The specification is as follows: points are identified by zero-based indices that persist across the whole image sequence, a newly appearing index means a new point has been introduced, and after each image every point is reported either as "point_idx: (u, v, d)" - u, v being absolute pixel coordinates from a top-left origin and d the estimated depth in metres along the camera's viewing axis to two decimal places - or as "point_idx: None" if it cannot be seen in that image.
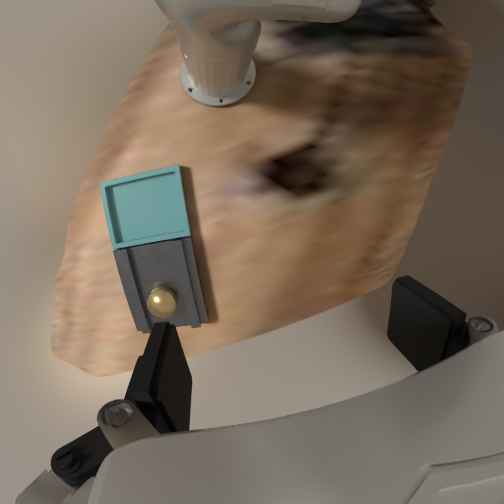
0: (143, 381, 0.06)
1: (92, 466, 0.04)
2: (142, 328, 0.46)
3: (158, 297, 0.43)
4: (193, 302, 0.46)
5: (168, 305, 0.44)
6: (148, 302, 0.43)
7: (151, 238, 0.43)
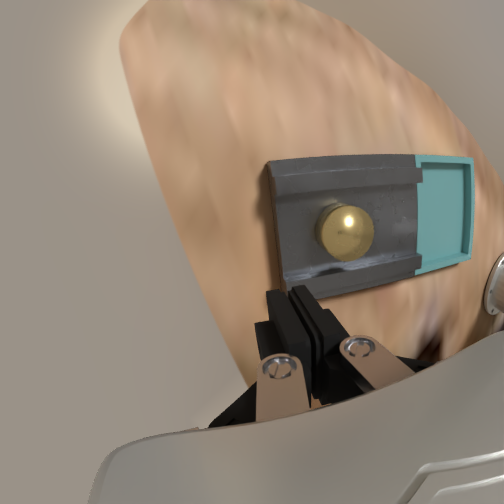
0: (294, 334, 0.08)
1: None
2: (287, 178, 0.23)
3: (364, 231, 0.23)
4: (336, 286, 0.26)
5: (348, 249, 0.24)
6: (357, 210, 0.23)
7: (421, 220, 0.27)
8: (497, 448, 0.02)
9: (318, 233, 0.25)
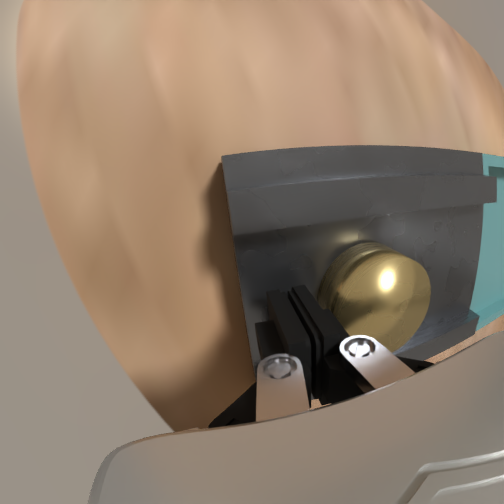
0: (293, 334, 0.08)
1: None
2: (259, 196, 0.10)
3: (414, 304, 0.11)
4: None
5: (381, 339, 0.11)
6: (407, 266, 0.10)
7: (482, 260, 0.14)
8: (497, 448, 0.02)
9: (324, 307, 0.12)
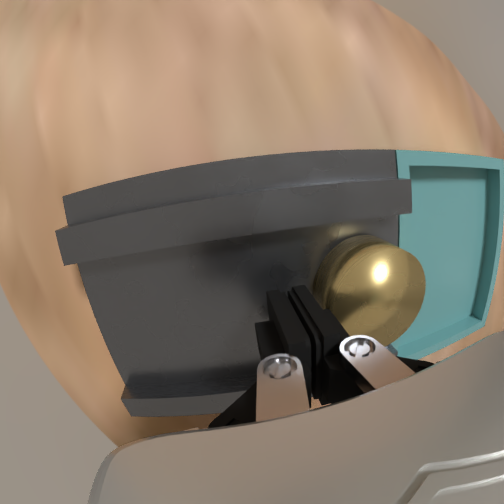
0: (294, 334, 0.08)
1: None
2: (75, 232, 0.10)
3: (409, 294, 0.11)
4: (212, 411, 0.13)
5: (377, 330, 0.11)
6: (399, 256, 0.10)
7: None
8: (497, 448, 0.02)
9: (319, 301, 0.12)
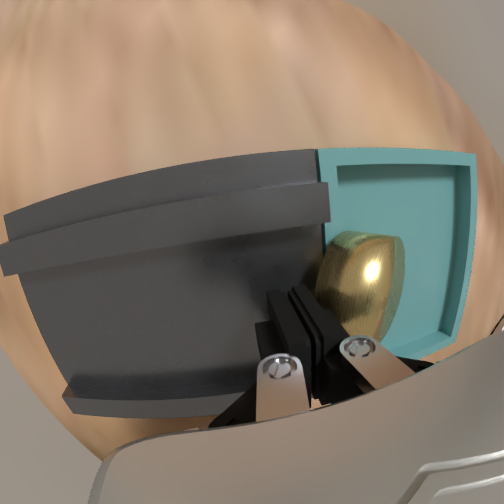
0: (294, 334, 0.08)
1: None
2: (9, 248, 0.09)
3: (399, 276, 0.12)
4: (138, 416, 0.13)
5: (386, 318, 0.11)
6: (396, 243, 0.11)
7: None
8: (497, 448, 0.02)
9: (332, 312, 0.11)
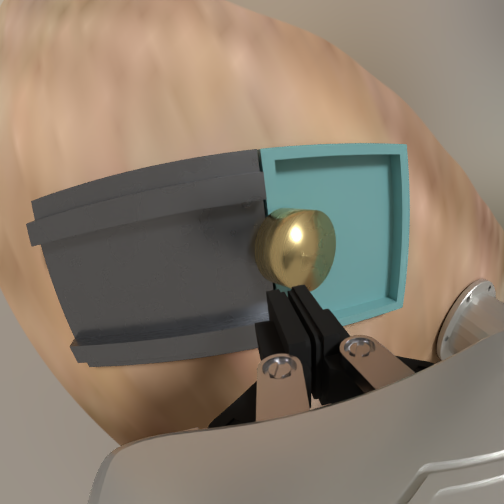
0: (294, 334, 0.08)
1: None
2: (38, 224, 0.14)
3: (326, 242, 0.17)
4: (131, 357, 0.17)
5: (313, 272, 0.17)
6: (316, 215, 0.16)
7: None
8: (497, 448, 0.02)
9: (265, 263, 0.16)
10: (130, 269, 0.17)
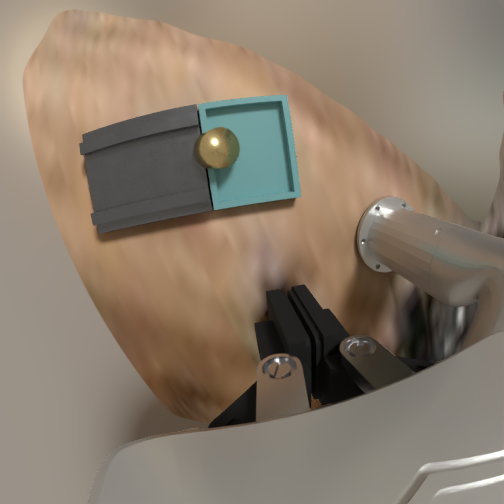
0: (294, 334, 0.08)
1: None
2: (86, 143, 0.28)
3: (231, 144, 0.31)
4: (126, 216, 0.32)
5: (223, 158, 0.31)
6: (223, 129, 0.30)
7: None
8: (497, 448, 0.02)
9: (197, 153, 0.30)
10: (132, 165, 0.31)
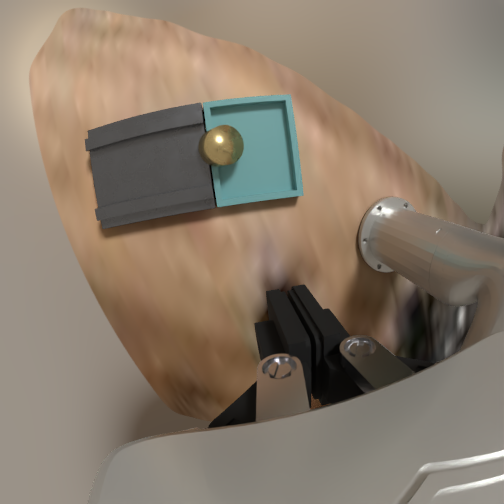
0: (294, 334, 0.08)
1: None
2: (92, 139, 0.29)
3: (236, 141, 0.32)
4: (129, 211, 0.32)
5: (227, 155, 0.31)
6: (227, 127, 0.30)
7: None
8: (497, 448, 0.02)
9: (202, 150, 0.31)
10: (137, 161, 0.32)
